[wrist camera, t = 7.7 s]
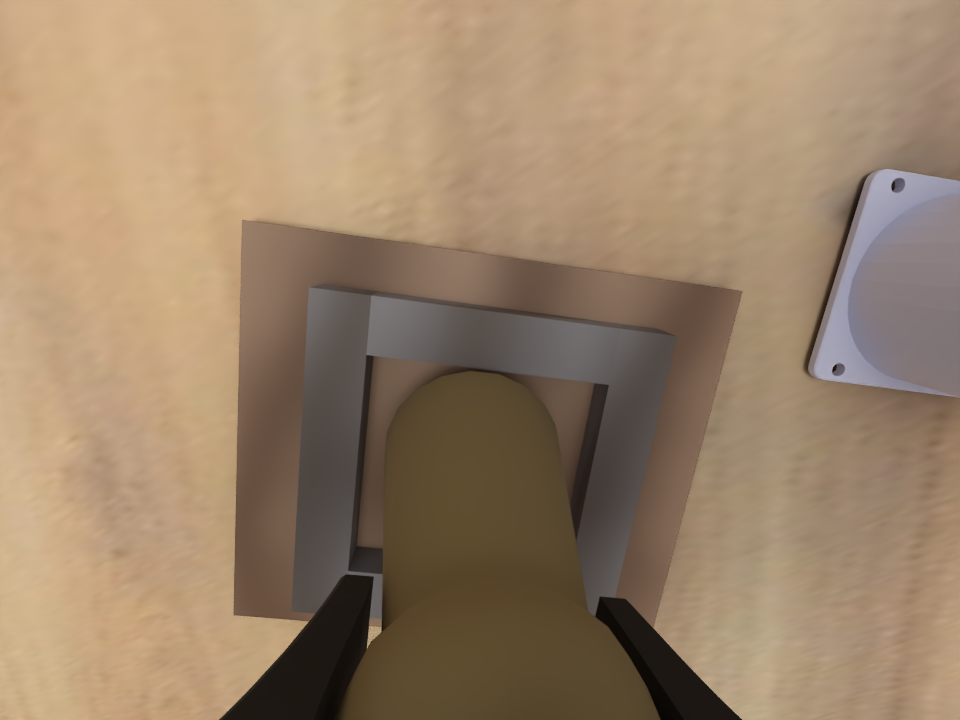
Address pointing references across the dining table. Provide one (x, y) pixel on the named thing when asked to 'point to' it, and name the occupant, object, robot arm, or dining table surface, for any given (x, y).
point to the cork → (484, 572)
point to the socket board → (444, 351)
